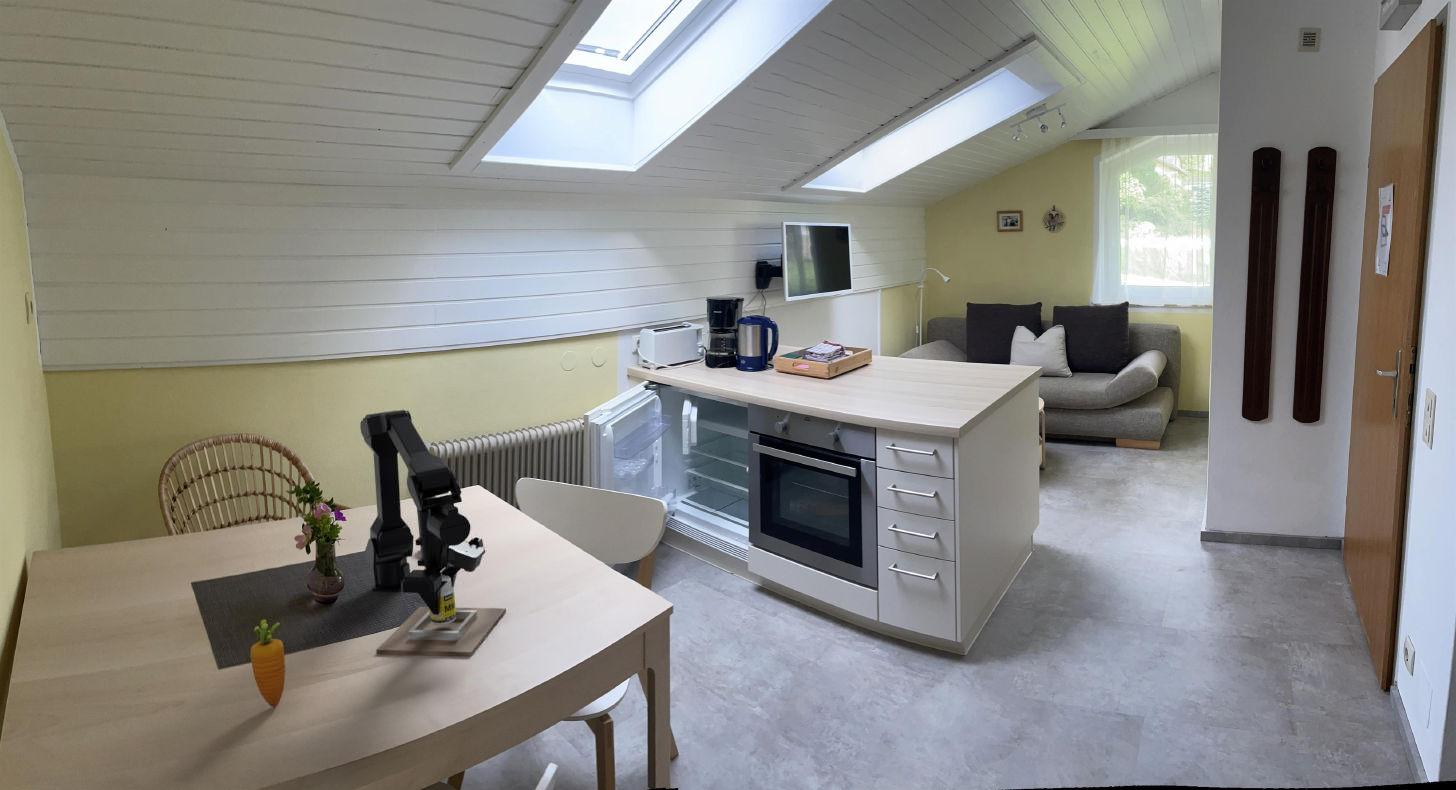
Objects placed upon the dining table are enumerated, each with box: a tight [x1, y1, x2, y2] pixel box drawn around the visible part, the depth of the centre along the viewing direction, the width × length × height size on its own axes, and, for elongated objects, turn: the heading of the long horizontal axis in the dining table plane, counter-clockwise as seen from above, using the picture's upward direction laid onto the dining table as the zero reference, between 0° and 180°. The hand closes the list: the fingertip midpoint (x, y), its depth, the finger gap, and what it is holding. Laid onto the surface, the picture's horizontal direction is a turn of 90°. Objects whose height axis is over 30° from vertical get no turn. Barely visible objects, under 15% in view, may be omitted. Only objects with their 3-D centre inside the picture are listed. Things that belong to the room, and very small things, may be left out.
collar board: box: [375, 606, 507, 657], centre depth 162 cm, size 18×18×2 cm
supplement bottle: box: [429, 575, 457, 625], centre depth 161 cm, size 5×5×8 cm
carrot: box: [250, 618, 286, 708], centre depth 136 cm, size 5×5×15 cm
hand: (442, 608), depth 161 cm, fingers open, 5 cm apart
